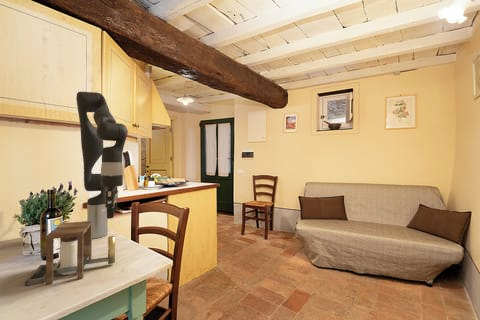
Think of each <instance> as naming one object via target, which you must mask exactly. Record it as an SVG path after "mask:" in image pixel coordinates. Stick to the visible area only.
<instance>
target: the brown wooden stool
mask: <svg viewBox="0 0 480 320" xmlns="http://www.w3.org/2000/svg"><path fill="white" fill-rule="evenodd" d="M76 236H77V273H76V280H82V279H84V269H83V256H89V260H91V259H93V258H92V255H93V254H92V249H93V247H92V242H93V238H92V221H87V220H85V221H73V222H61V223H60V224H59V225H57V226H56V227H55V228H54V229H53V230H52V231H50V232H49V233H48V234H46V237H45V241H46V243H45V244H46V245H45V246H46V247H45V264H46V281H45V285H53V283H54V274H53V263H54V254H55V253H54V251H55V250H54V247H55V245H54V243H55V242H54V241H55V240H56V239H60V241H59V242H60V244H59V245H61V243H62V240H63V239H65V238H68V237H76Z"/></svg>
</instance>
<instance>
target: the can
mask: <svg viewBox="0 0 480 320" xmlns="http://www.w3.org/2000/svg"><path fill="white" fill-rule="evenodd" d="M59 245H60V244H59ZM59 247H60V248H59V249H60V250H59V251H60V252H59V255H60V256H59V260H60V267H59V268H66V267H73V266H77V236H76V237H68V238H65V239H63V240H62V243H61V245H60V246H59ZM75 274H77V271H72V272H65V273H60V275H62V276H70V275H71V276H72V275H75Z"/></svg>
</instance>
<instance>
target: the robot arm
mask: <svg viewBox="0 0 480 320" xmlns="http://www.w3.org/2000/svg"><path fill="white" fill-rule="evenodd" d="M75 97H76V98H75V99H76V100H75V101H76V107H77V112H78V118H79V127H80V129H79V130H80V143H81V146H80V147H81V153H82V161H83V186H84V187H83V188H84V190H85V191H86V192H100V193H99V194H98V195H95V196H93V197H89V198H87V205H86V206H87V208H86V209H87V213H86V215H87V217H86V219H87V220H86V221H92V239H100V238H104V237H106V236H107V235H108V227H109V226H108V225H109V224H108V223H109V221H108V220H109V219H113V218H114V216H115V213H117V203H118V198H119V197H118V195H119V190H118V187H122V186H123V185H124V167H123V151H124V146H125V144H126V140H127V138H128V133H129V132H128V131H129V130H128V127H127V126H126V125H125V124H123V123H118V122H117V121H116V119H115V118H114V116H113V115H112V113H111V111H110V109H109V106H108V104H107V103H108V102H107V101H106V98H105V96H104V95H103V94H102V93H99V92H97V91H96V92H93V91H78V92H77V93H76V96H75ZM88 113H93V114H92V115H93V121H94V122H95V125H96V126H97V127H96V128H95V126H94V125H93V124H92V122H91V120H90V119H89V117H88ZM104 141H109V142H110V141H111V142H115V143H114V145H111V146H105V147H104ZM100 158H101V165H100V173H93V172H92V170H93V168H94V166H95V164H96V163H97V162H98V160H99V159H100Z"/></svg>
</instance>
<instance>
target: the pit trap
mask: <svg viewBox="0 0 480 320" xmlns="http://www.w3.org/2000/svg"><path fill="white" fill-rule="evenodd" d="M57 263H58V262H53V268H54V266H55V265H56V264H57ZM44 283H45V284H46V263H45V264H40V265H39V266H38V267H37V268H36V269H35V270H34V271H33V272H32V274H30V276H29V277H28V278H27V279H26V280H25V281H24V286H25V287H26V286H27V287H28V286H33V285H40V284H44Z"/></svg>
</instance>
